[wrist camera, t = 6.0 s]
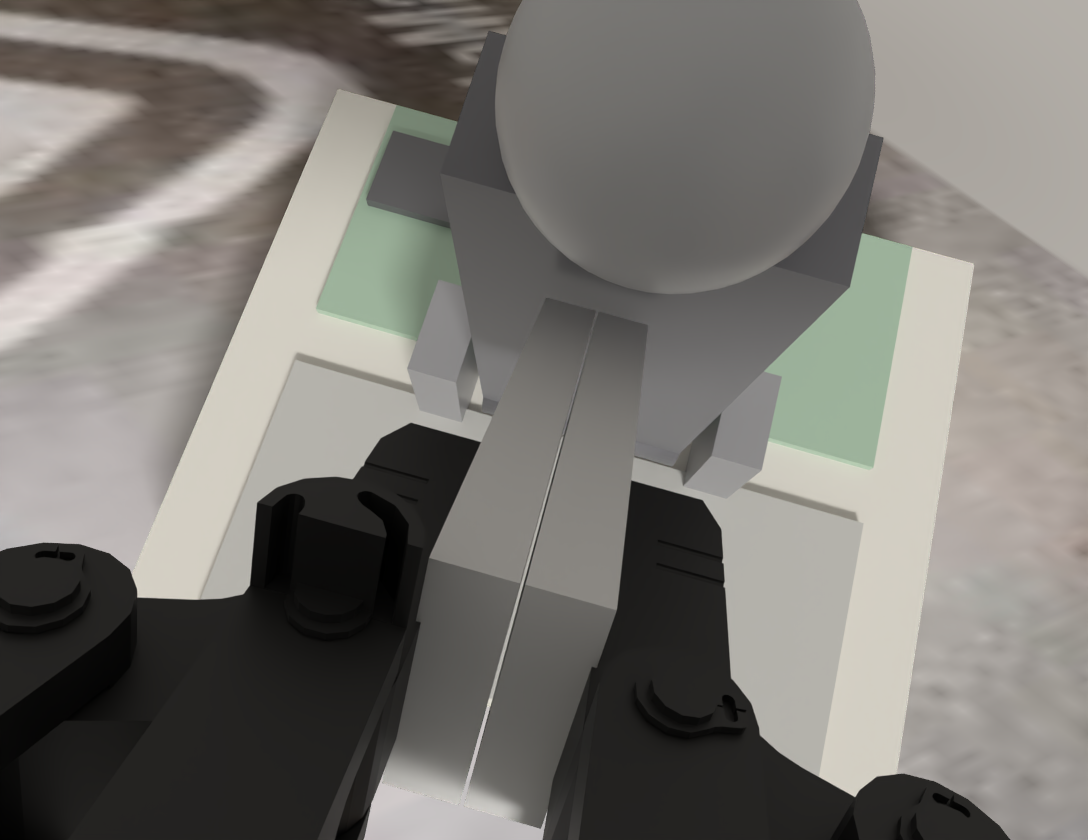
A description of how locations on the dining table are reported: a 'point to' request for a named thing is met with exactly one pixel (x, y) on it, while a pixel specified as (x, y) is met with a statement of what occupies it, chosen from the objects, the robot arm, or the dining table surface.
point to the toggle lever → (664, 186)
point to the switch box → (456, 407)
